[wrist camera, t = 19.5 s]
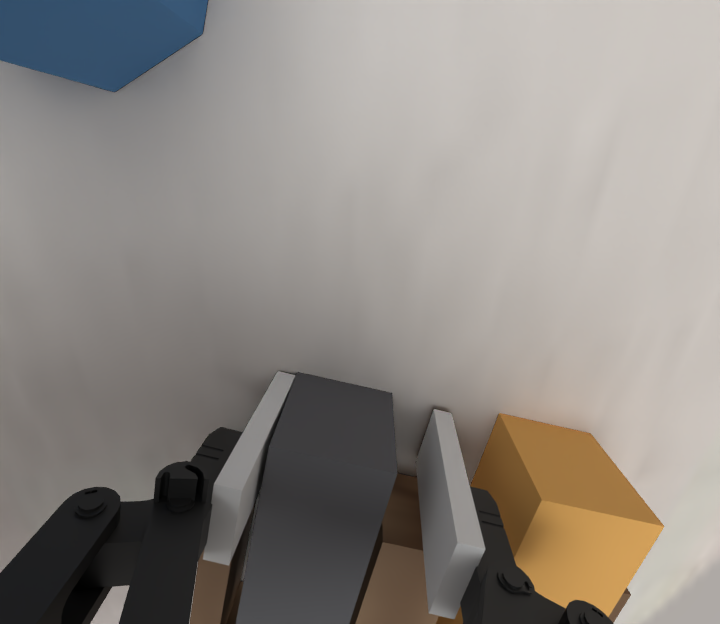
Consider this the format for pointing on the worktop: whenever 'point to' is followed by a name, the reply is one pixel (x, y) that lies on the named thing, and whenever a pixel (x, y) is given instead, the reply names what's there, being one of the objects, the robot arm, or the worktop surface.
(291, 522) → the tall gray prism
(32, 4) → the blue water bottle
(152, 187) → the worktop surface
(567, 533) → the tall orange brick
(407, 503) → the bronze desk organizer
